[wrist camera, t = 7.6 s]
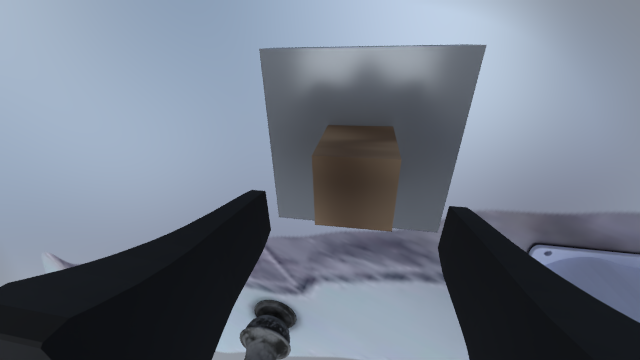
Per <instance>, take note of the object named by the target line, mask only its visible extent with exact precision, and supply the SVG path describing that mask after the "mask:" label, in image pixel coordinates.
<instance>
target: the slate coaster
mask: <svg viewBox="0 0 640 360" xmlns="http://www.w3.org/2000/svg"><path fill="white" fill-rule="evenodd" d="M485 48H486V45H422V46H421V45H419V46H418V45H417V46H364V47H363V46H362V47H361V46H359V47H302V48H266V49H259V50H260V58H261V67H262V76H263V84H264V93H265V101H266V110H267V117H268V126H269V135H270V144H271V152H272V160H273V169H274V177H275V187H276V194H277V204H278V212H279V217H284V218H294V219H304V220H314V221H315V213H314V193H313V172H312V154H313V152H314V150H315V149H316V147H317V145H318V143H319V141H320V139H321V137H322V135H323V133H324V132H325V130H326V128H327V126H328V125H349V126H393V128H394V132H395V136H396V140H397V144H398V148H399V152H400V156H401V167H400V174H399V182H398V189H397V197H396V204H395V212H394V219H393V227H392V228H396V229H407V230H417V231H427V232H438V229H439V225H440V221H441V217H442V213H443V209H444V206H445V202H446V198H447V194H448V190H449V186H450V183H451V179H452V175H453V171H454V167H455V163H456V160H457V155H458V152H459V148H460V144H461V140H462V136H463V133H464V129H465V125H466V121H467V117H468V113H469V110H470V106H471V102H472V98H473V94H474V90H475V86H476V83H477V79H478V75H479V71H480V67H481V63H482V60H483V56H484V52H485Z"/></svg>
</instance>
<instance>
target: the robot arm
mask: <svg viewBox="0 0 640 360" xmlns="http://www.w3.org/2000/svg"><path fill="white" fill-rule="evenodd" d="M270 231H271V228H270V220H269V213H268V206H267V199H266V192H265V191H257V190H251V191H249V192H247V193H245V194H243V195H241V196H239V197H237V198H236V199H234V200H232V201H230V202H229V203H227V204H225V205H223V206H221V207H220V208H218V209H216V210H214V211H213V212H211V213H209V214H207V215H205V216H203V217H202V218H199V219H198V220H196V221H194V222H192V223H190V224H188V225H186V226H184V227H182V228H180V229H178V230H175V231H174V232H171V233H169V234H167V235H164V236H162V237H160V238H157V239H155V240H152V241H150V242H147V243H145V244H142V245H139V246H137V247H134V248H131V249H128V250H126V251H123V252H120V253H117V254H114V255H111V256H108V257H105V258H102V259H98V260H95V261H92V262H89V263H85V264H82V265H78V266H75V267H71V268H67V269H64V270H60V271H56V272H52V273H48V274H44V275H40V276H36V277H32V278H27V279H23V280H19V281H15V282H11V283H7V284H5V285H3V286H1V287H0V360H212V358H213V355H214V352H215V350H216V347H217V345H218V342H219V340H220V337H221V335H222V332H223V330H224V327H225V325H226V323H227V320H228V318H229V316H230V313H231V311H232V308H233V306H234V304H235V302H236V300H237V298H238V296H239V294H240V293H241V291H242V289H243V287H244V285H245V283H246V282H247V280H248V278H249V276H250V274H251V272H252V271H253V269H254V267H255V265H256V263H257V261H258V259H259V257H260V256H261V254H262V252H263V250H264V247H265V244H266V242H267V239H268V236H269V233H270ZM438 251H439V257H440V263H441V267H442V272H443V276H444V279H445V282H446V285H447V288H448V291H449V294H450V297H451V300H452V303H453V306H454V309H455V312H456V315H457V318H458V321H459V324H460V327H461V330H462V333H463V336H464V339H465V343H466V346H467V350H468V355H469V359H470V360H640V255H638V254H628V253H618V252H608V251H598V250H587V249H577V248H567V247H557V246H547V245H536V246H534V247H532V249H531V250H530V252H529V254H528V253H526V252H525V251H523V250H522V249H521V248H519V247H518V246H517V245H515V244H514V243H513V242H511V241H510V240H509V239H507V238H506V237H505V236H504V235H502V234H501V233H500V232H498V231H497V230H496V229H495V228H493V227H492V226H491V225H490V224H488V223H487V222H486V221H484V220H483V219H482V218H481V217H479V216H478V215H477V214H475V213H474V212H473V211H471V210H470V209H468V208H466V207H454V206H449V209H448V212H447V216H446V220H445V223H444V227H443V231H442V235H441V238H440V242H439V246H438ZM546 251H548V252H546Z"/></svg>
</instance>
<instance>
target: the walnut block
mask: <svg viewBox="0 0 640 360" xmlns="http://www.w3.org/2000/svg"><path fill="white" fill-rule="evenodd" d="M400 167H401V156H400V152H399V148H398V144H397V140H396V136H395V132H394V128H393V126H349V125H328V126H327V128H326V130H325V132H324V133H323V135H322V137H321V139H320V141H319V143H318V145H317V147H316V149H315V150H314V152H313V154H312V172H313V193H314V213H315V225H325V226H336V227H347V228H358V229H369V230H380V231H391V232H392V227H393V219H394V212H395V204H396V197H397V189H398V182H399V174H400Z"/></svg>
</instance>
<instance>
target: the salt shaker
mask: <svg viewBox="0 0 640 360" xmlns="http://www.w3.org/2000/svg"><path fill="white" fill-rule="evenodd" d="M255 314H256V316H257V318H255V319H253V320H252V321H251V322H250V323H249V324H248V326H247V327H246V329H244V330H243V331H242V332H241V334H240V341H241V343H242V345H243V346H244V347H245V348H246V356H245V359H244V360H278V359H283V358H285V357H287V356H288V355H289V353H290V351H291V348H290V345H289V343H290V336H289V330H288V328H290V327H292V326H293V325H294V324H295V322H296V315H295V313H294V312H293V311H292V309H291V308H289V307H288V306H287V305H285V304H283V303H280V302H278V301H273V300H264V301H261V302H259V303H257V305H256V306H255Z"/></svg>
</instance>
